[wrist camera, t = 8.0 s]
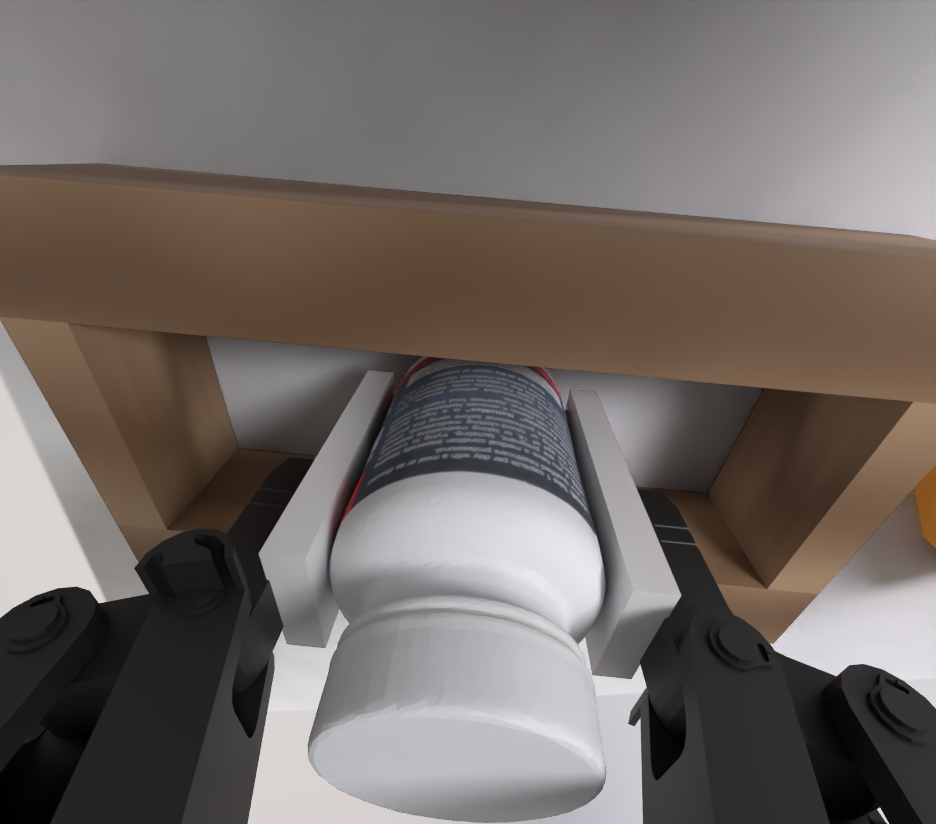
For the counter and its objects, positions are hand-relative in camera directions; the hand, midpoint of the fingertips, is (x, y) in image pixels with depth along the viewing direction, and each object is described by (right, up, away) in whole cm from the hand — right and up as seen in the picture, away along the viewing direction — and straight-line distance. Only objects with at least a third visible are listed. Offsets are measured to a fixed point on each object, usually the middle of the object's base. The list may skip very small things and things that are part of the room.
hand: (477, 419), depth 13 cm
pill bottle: (0, 0, 0) cm, 0 cm away
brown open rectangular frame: (0, +1, +1) cm, 1 cm away
